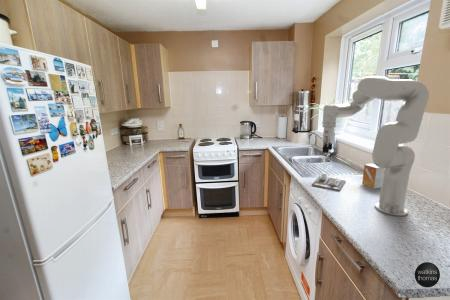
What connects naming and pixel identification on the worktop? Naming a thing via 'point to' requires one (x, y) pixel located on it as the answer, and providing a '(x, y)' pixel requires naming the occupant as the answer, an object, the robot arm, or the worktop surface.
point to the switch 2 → (333, 181)
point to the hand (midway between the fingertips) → (327, 151)
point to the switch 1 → (324, 177)
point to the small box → (372, 176)
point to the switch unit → (328, 184)
